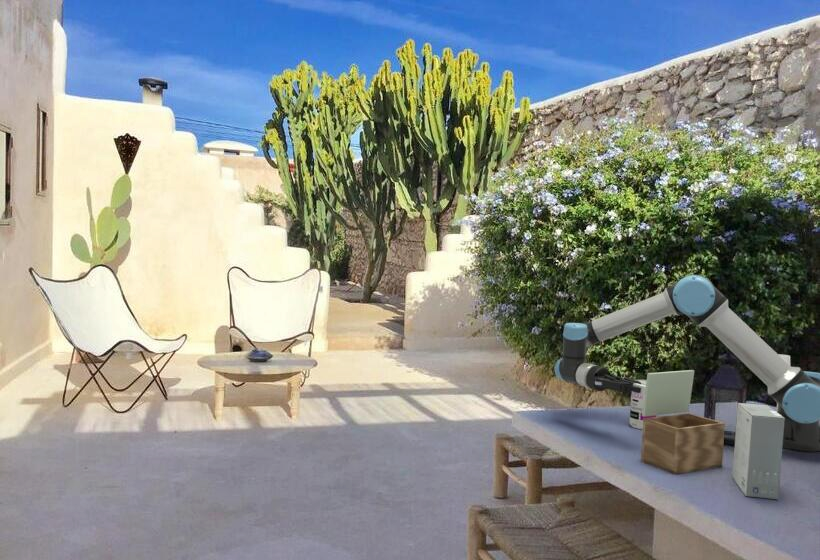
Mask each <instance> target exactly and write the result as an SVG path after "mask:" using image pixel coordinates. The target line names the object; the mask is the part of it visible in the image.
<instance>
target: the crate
mask: <svg viewBox="0 0 820 560" xmlns="http://www.w3.org/2000/svg"><path fill="white" fill-rule="evenodd" d="M725 426H726V424H725V422H722V421H719V420H715V419H712V418H711V419H710V418H707V417H703V416H700V415H696V414H693V413H688V412H686V413H677V414H671V415H670V414H668V415H663V416H662V415H660V416H656V417H652V418H643V430H642V436H641V439H642V440H641V452H640V454H641V455H640V462H641V463H643V462H644V464H646V465H648V466H651V465H652V467H654V468H657V469H659V468H660V469H659V470H663V471H665V472H668V473H670V474H672V475H675V476H676V475H680V474H681V475H682V474H687V472H688V473H692V471H694V472H699V471H698V470H700V471H705V469H706V470H711V469H710V468H712V469H716V468H715V467H717V468H722V466H723V457H724V456H723V454H724V443H725V442H724V441H725V440H724V439H725Z"/></svg>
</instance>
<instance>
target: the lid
mask: <svg viewBox="0 0 820 560" xmlns="http://www.w3.org/2000/svg"><path fill="white" fill-rule="evenodd" d="M694 376H695V370H694V369H689V370H688V369H687V370H675V371H672V370H671V371H662V372H660V371H659V372H647V375H646V380H647V381H646V389H645V396H644V404H643V412H642V416H644V417H645V416H654V415H656V416H662V415H663V416H664V415H670V414H671V415H673V414H682V413H688V412H689V411H690V404H691V400H692V399H691V398H692V392H693V391H692V390H693V383H694V378H695V377H694Z"/></svg>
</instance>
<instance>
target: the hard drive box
mask: <svg viewBox="0 0 820 560" xmlns="http://www.w3.org/2000/svg"><path fill="white" fill-rule="evenodd" d="M736 409H737V410H736V421H735V437H734V451H733V462H732V463H733V464H732V479H733V480H734V482H735V483H736V484H737V485H738V487H739V488H740V490H741V492H742V493H743V494H744V496H745V497H746V496H747V497H755V498H761V499H772V500H779V498H780V497H779V496H780V485H781V473H782V472H781V471H782V458H783V447H782V446H783V433H784V421H785V418H784V417H783V416H781V415H780V414H779V413H777V412H776V411H777V410H775V409H773V408H771V407H770V406H769V405H766V404H757V403H756V404H755V403H754V404H753V403H744V402H742V403H741V402H738V403H737V408H736Z"/></svg>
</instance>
